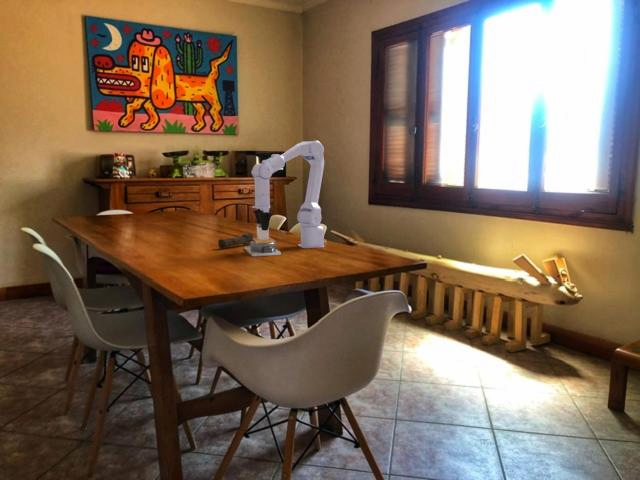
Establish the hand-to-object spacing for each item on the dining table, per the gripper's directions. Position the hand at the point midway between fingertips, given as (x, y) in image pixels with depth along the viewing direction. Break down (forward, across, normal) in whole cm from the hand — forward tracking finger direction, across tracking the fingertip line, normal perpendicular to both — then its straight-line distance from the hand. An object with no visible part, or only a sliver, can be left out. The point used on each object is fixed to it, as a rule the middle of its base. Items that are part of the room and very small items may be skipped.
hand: (263, 229), depth 203 cm
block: (+5, 0, 0) cm, 5 cm away
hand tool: (+12, -14, -13) cm, 22 cm away
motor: (+9, 0, 0) cm, 9 cm away
